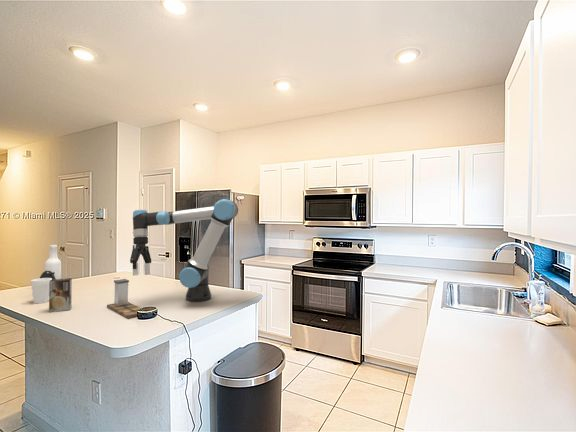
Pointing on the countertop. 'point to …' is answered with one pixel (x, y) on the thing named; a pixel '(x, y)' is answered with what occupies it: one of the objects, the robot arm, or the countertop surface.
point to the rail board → (125, 310)
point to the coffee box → (60, 294)
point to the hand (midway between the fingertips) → (141, 275)
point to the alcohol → (53, 262)
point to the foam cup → (40, 290)
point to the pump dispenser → (48, 275)
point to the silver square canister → (121, 292)
